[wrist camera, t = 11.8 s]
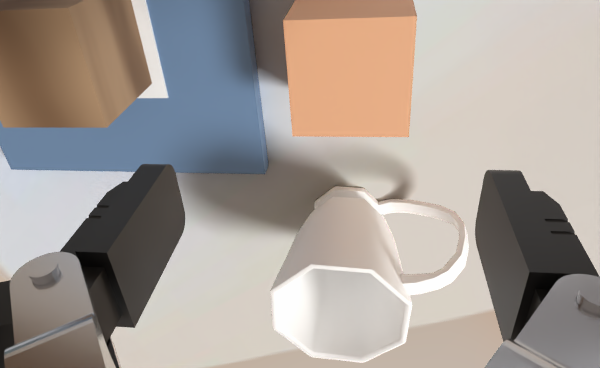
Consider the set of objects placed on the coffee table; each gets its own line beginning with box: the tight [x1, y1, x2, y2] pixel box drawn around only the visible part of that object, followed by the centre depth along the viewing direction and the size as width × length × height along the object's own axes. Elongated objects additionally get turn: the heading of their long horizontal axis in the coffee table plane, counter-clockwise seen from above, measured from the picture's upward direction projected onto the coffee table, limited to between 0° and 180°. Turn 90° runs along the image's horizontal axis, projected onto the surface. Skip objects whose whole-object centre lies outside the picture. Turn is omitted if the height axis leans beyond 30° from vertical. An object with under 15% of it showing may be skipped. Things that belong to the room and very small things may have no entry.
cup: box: [270, 186, 469, 363], centre depth 25 cm, size 7×10×8 cm
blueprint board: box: [0, 0, 268, 174], centre depth 24 cm, size 16×16×1 cm
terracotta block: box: [283, 0, 417, 137], centre depth 21 cm, size 5×5×5 cm
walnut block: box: [0, 0, 152, 128], centre depth 22 cm, size 5×5×5 cm
